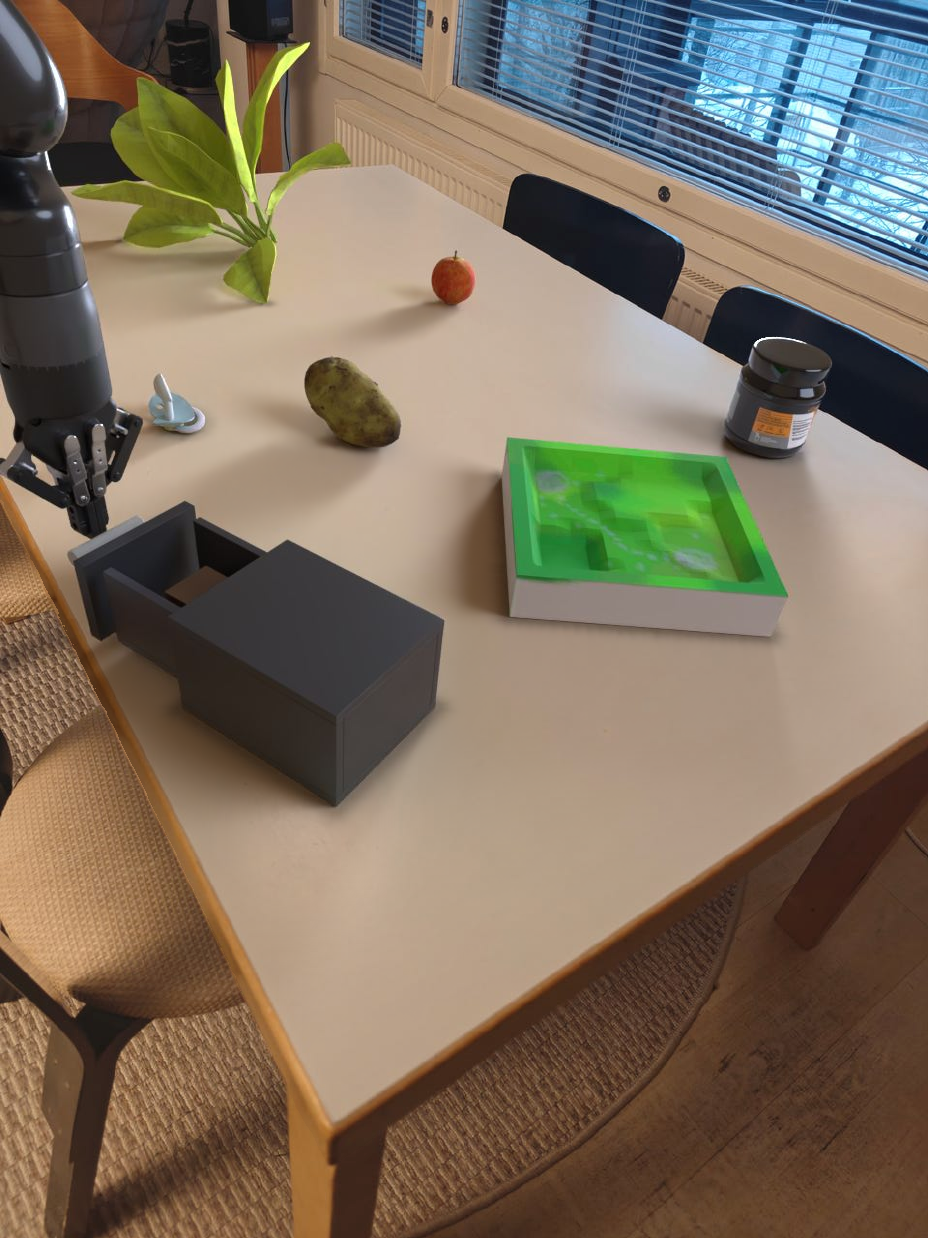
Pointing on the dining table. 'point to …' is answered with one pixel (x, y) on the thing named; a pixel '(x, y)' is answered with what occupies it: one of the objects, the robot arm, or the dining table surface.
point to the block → (193, 586)
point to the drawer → (150, 575)
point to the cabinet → (307, 666)
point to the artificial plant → (204, 172)
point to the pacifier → (173, 409)
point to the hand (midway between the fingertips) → (92, 532)
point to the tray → (634, 540)
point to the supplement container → (777, 397)
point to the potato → (351, 403)
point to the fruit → (453, 279)
